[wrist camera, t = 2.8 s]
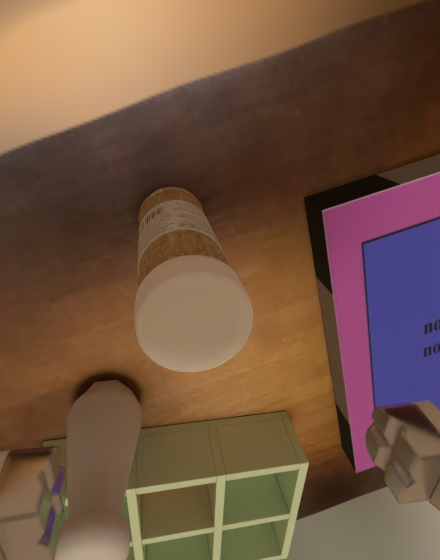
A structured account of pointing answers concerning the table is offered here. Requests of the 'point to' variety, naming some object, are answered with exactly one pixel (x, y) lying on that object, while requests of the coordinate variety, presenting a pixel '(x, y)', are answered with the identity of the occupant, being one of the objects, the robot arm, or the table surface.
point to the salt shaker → (99, 472)
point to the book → (379, 293)
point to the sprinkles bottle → (186, 287)
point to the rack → (212, 489)
